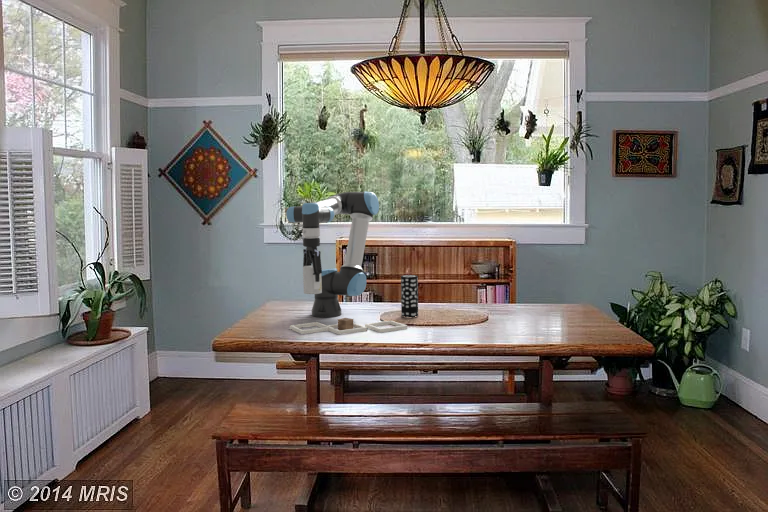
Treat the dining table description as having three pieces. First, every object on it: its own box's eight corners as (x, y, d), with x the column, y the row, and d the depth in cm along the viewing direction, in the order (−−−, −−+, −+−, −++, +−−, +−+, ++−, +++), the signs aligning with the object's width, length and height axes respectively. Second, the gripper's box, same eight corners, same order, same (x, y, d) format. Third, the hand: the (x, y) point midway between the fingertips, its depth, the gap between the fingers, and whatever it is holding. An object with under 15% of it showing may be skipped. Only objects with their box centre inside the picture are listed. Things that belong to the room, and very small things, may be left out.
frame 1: (289, 328, 310) (289, 325, 310) (317, 325, 317) (317, 321, 317) (302, 334, 298) (302, 330, 298) (330, 330, 305) (330, 327, 305)
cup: (318, 294, 301) (317, 267, 300) (301, 294, 303) (300, 267, 301) (324, 291, 309) (323, 265, 308) (307, 291, 311) (306, 265, 309)
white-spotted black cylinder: (420, 315, 337) (419, 275, 335) (415, 318, 330) (415, 277, 328) (404, 314, 340) (403, 274, 338) (399, 317, 332) (398, 277, 330)
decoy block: (337, 330, 305) (337, 319, 305) (345, 328, 309) (345, 317, 308) (346, 331, 302) (345, 320, 301) (353, 329, 306) (353, 318, 305)
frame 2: (324, 329, 308) (324, 325, 308) (352, 325, 315) (352, 322, 315) (339, 334, 296) (338, 331, 296) (366, 330, 303) (366, 327, 303)
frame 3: (365, 327, 311) (365, 323, 310) (391, 323, 318) (391, 320, 318) (380, 332, 299) (380, 329, 298) (407, 328, 306) (407, 325, 306)
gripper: (294, 236, 310) (296, 285, 313) (313, 239, 292) (314, 291, 295) (309, 235, 314) (311, 284, 316) (328, 238, 296) (330, 289, 298)
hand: (312, 287), depth 306 cm, fingers closed on cup, 8 cm apart
